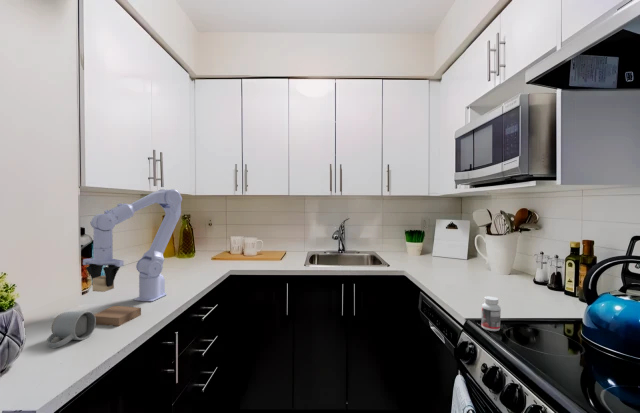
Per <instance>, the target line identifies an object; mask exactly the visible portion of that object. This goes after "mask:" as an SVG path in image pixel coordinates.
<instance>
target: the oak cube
mask: <svg viewBox="0 0 640 413" xmlns="http://www.w3.org/2000/svg"><path fill="white" fill-rule="evenodd" d="M91 280H92V292H98V293H99V292H100V293H104V292H107V291H111V290H113V289H115V284H114V283H115V281H114V282H113V285H112V286H109V287H107V285H106V276H105V275H101V276H99V277H96V278H91Z"/></svg>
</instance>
